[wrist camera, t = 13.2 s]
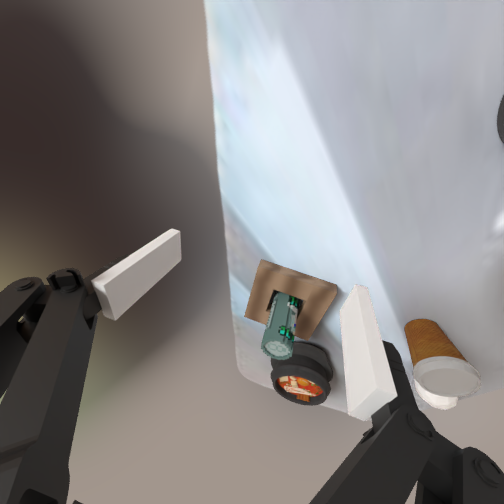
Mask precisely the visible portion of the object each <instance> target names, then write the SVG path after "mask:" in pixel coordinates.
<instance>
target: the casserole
mask: <svg viewBox="0 0 504 504" xmlns="http://www.w3.org/2000/svg"><path fill="white" fill-rule="evenodd" d="M271 365H272V368H273V371H272V372H271V379H272V382H273V387H274V389H275V390H276V391H277V392H278V393H279V394H280V395H281V396H282V397H284V398H286V399H288V400H290V401H292V402H295V403H298V404H302V405H318V404H321V403H323V402H324V401H325V400H326V399H327V396H328V395H329V393H330V390H331V388H330V384H329V383H328V382H329V381H331V379H332V377H333V371H332V368H331V367H330V365H329V363H328V360H327V356H326V353H325V352H324V351H323V350H321V349H319V348H317V347H315V346H313V345H310V344H306V343H301V342H294V344H293V351H292V357H290V356H289V359H288V358H287V359H285V360H282V359H281V360H278V359H274V358H271Z"/></svg>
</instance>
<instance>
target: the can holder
mask: <svg viewBox="0 0 504 504" xmlns="http://www.w3.org/2000/svg"><path fill="white" fill-rule="evenodd" d="M273 290H277V291H280V292H282V293H285V294H288V295H291V296H294V297H297V298H299V299H302V300H303V302H302V304H301V306H300V308H299V310H298V312H297V320H296V328H295V336H297V337H299V338H302V339H304V340H307V341H308V340H309V338H310V337H311V335H312V333H313V332H314V330H315V329H316V327H317V325H318V324H319V322H320V320H321V319H322V317H323V316H324V314H325V312H326V311H327V309H328V307H329V306H330V304H331V303H332V301H333V299H334V298H335V296H336V294H337V287H336V284H333V283H330V282H327V281H324V280H321V279H318V278H315V277H312V276H309V275H306V274H303V273H300V272H297V271H294V270H292V269H289V268H286V267H283V266H280V265H277V264H274V263H271V262H268V261H265V260H262V259H261V261H260V264H259V266H258V269H257V273H256V276H255V280H254V283H253V287H252V290H251V294H250V298H249V301H248V305H247V308H246V312H245V316H244V317H247V318H249V319H252V320H254V321H257V322H260V323H262V324H265V325H267V322H268V318H269V314H270V311H271V307H272V304H269V301H270V298H271V295H272V293H273Z"/></svg>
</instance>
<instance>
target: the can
mask: <svg viewBox="0 0 504 504" xmlns="http://www.w3.org/2000/svg"><path fill="white" fill-rule="evenodd" d="M298 304H299V298H297V297H294V296H291V295H288V294H285V293H282V292H280V291H277V293H275V296H274V300H273V303H272V307H271V311H270V314H269V318H268V322H267V325H266V329H265V332H264V336H263V340H262V346H261V349H263V352H265V354H267V356H271V358H274V359H278V360H281V359H282V360H285V359H287V358H288V359H289V356H290V357H292V351H293V344H294V336H295V328H296V320H297V312H298Z"/></svg>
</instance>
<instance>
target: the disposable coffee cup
mask: <svg viewBox="0 0 504 504" xmlns="http://www.w3.org/2000/svg"><path fill="white" fill-rule="evenodd" d="M404 329H405V333H406V338H407V342H408V346H409V350H410V354H411V359H412V363H413V367H414V369H413V376H414V379H415V380H416V381H417V382H418V383H419V384H420V386H421V387H422V388H423V389H424V390H426V391H428V392H430V393H432V394H435V395H439V396H444V397H463V396H468V395H471V394H473V393H476V392H477V391H478V390H479V389H480V387H481V381H480V374H479V372H478V370H477V369H476V368H475V367H474V366H472V365H471V364H469V363H468V362H467V360H466V359H465V358H464V357H463V356H462V354H461V353H460V352H459V351H458V349H457V348H456V347H455V346H454V344H453V343H452V342H451V341H450V339H448V337H447V336H446V335H445V333H444V332H443V331H442V330H441V328H440V327H439V326H438V325H437V324H436V323H435V322H433V321H431V320H427V319H417V320H413V321H410V322H409V323H407V324H406V326H405V328H404Z"/></svg>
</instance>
